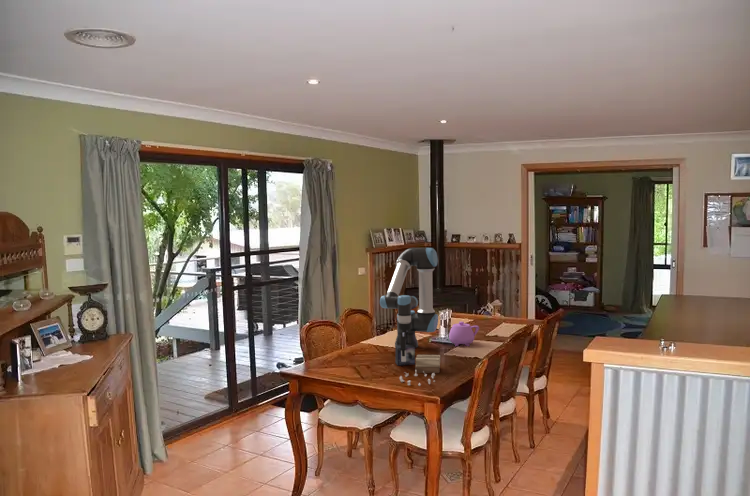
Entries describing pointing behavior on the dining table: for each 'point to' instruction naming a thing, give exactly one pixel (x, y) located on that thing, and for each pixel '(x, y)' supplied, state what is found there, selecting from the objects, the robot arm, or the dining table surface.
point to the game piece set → (417, 375)
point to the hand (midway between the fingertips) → (405, 358)
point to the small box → (409, 355)
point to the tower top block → (428, 360)
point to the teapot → (462, 334)
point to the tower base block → (427, 369)
